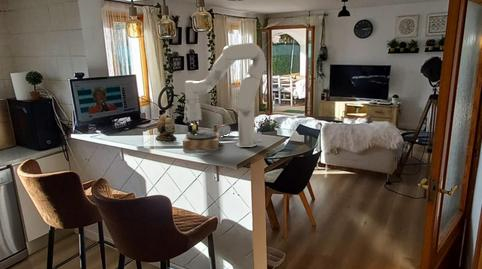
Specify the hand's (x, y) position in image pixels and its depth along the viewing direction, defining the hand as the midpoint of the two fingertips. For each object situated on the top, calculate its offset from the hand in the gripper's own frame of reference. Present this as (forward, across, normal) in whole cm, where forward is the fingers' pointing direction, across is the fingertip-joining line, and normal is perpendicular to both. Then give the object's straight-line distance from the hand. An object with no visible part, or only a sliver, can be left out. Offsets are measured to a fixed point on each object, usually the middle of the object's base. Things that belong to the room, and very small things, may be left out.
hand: (193, 131), depth 213 cm
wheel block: (+9, 0, -7) cm, 11 cm away
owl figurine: (+9, -2, +26) cm, 27 cm away
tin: (+9, +26, +1) cm, 28 cm away
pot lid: (+2, 0, -7) cm, 7 cm away
